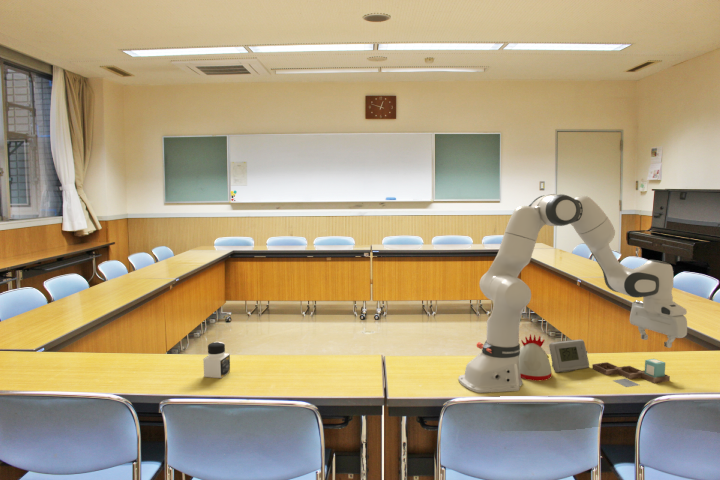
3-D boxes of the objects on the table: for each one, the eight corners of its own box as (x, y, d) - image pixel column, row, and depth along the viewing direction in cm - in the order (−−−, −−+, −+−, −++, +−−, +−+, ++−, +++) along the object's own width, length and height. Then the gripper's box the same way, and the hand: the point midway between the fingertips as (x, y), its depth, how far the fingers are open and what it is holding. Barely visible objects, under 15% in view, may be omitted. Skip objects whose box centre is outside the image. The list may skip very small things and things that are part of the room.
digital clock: (554, 373, 175) (555, 346, 174) (542, 365, 184) (543, 339, 183) (594, 372, 177) (596, 344, 176) (581, 363, 186) (582, 337, 185)
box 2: (630, 380, 168) (630, 374, 168) (614, 373, 175) (614, 367, 175) (645, 378, 170) (645, 372, 170) (628, 371, 177) (629, 365, 177)
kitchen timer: (552, 382, 167) (553, 341, 165) (511, 378, 171) (512, 338, 170) (550, 369, 180) (551, 331, 178) (512, 365, 184) (513, 328, 183)
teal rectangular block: (655, 381, 166) (656, 363, 165) (644, 377, 170) (645, 359, 169) (664, 380, 167) (665, 362, 167) (653, 375, 171) (654, 358, 171)
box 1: (606, 376, 172) (607, 370, 172) (592, 369, 179) (592, 364, 179) (621, 374, 174) (622, 368, 174) (606, 367, 181) (607, 362, 181)
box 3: (654, 384, 165) (654, 378, 164) (637, 377, 171) (637, 371, 171) (669, 382, 167) (669, 376, 166) (652, 375, 173) (652, 369, 173)
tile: (626, 388, 162) (626, 387, 161) (612, 381, 167) (612, 380, 167) (639, 385, 163) (639, 384, 163) (625, 379, 169) (625, 378, 169)
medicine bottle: (221, 378, 171) (220, 346, 170) (203, 377, 173) (202, 345, 172) (230, 371, 178) (229, 340, 177) (213, 370, 180) (212, 339, 179)
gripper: (626, 300, 175) (624, 335, 177) (677, 312, 156) (675, 352, 157) (639, 298, 177) (637, 334, 179) (691, 311, 158) (689, 350, 159)
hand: (655, 343), depth 168 cm, fingers open, 8 cm apart
